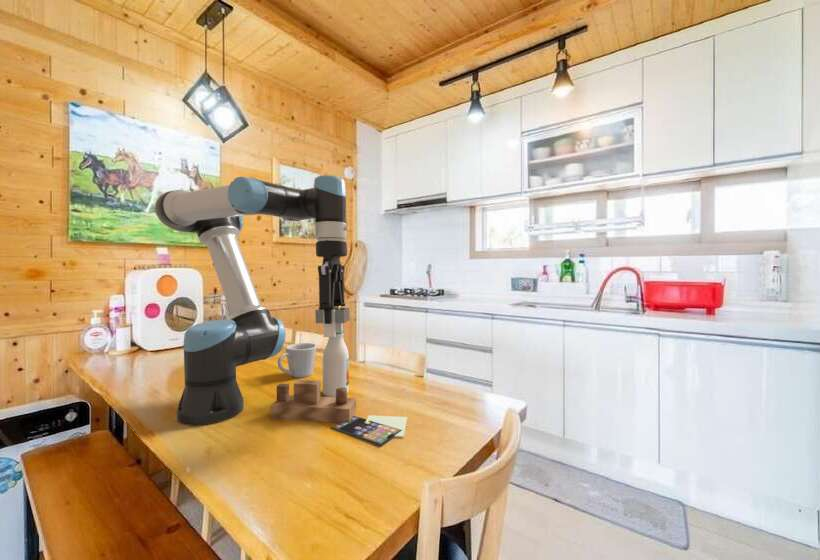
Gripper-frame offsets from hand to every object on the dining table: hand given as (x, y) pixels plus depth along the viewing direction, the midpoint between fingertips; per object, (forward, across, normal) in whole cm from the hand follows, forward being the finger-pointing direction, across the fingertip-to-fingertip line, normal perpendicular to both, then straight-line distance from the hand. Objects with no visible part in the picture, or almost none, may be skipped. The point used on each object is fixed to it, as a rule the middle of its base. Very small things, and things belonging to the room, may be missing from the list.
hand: (333, 334), depth 89 cm
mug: (+21, +31, +24) cm, 44 cm away
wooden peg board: (+21, +2, +6) cm, 22 cm away
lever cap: (-3, 0, 0) cm, 3 cm away
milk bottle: (+21, +18, +5) cm, 28 cm away
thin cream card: (+22, -2, -13) cm, 26 cm away
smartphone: (+23, -4, -9) cm, 25 cm away
